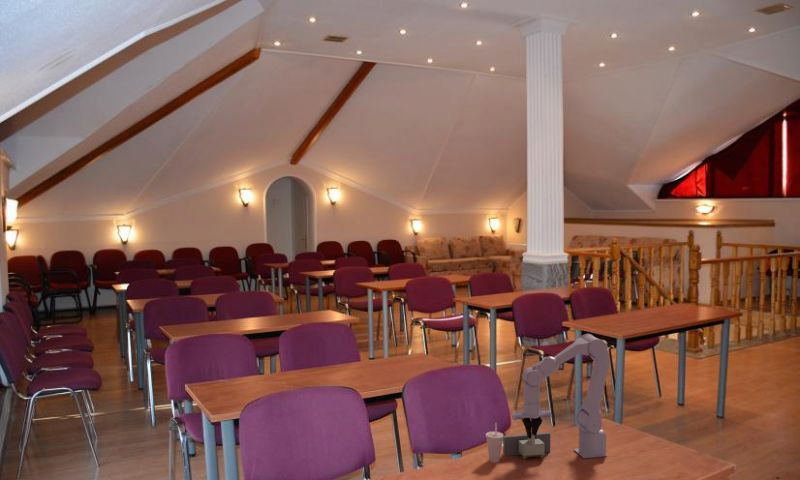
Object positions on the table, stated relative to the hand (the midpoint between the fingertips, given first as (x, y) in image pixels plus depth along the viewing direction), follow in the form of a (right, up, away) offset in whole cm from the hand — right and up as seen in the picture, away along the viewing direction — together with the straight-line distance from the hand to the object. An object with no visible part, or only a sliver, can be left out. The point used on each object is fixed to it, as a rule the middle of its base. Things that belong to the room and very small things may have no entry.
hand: (531, 437), depth 250 cm
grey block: (0, -7, 0) cm, 7 cm away
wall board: (-1, -7, +3) cm, 8 cm away
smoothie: (-14, -8, -2) cm, 16 cm away
